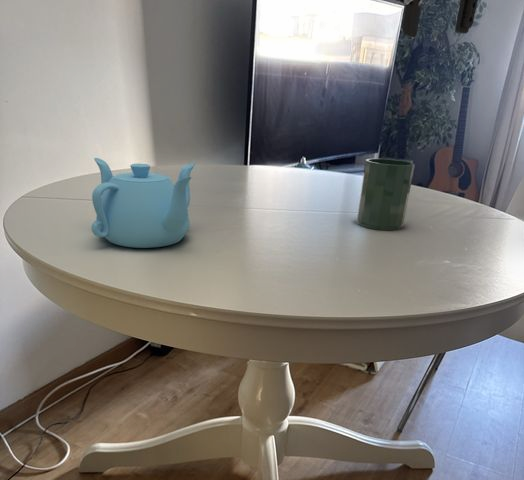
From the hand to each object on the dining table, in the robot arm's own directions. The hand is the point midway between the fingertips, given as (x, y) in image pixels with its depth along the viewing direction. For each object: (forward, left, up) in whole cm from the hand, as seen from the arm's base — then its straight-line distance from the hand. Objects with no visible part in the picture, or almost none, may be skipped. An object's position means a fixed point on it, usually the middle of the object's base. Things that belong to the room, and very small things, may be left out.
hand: (434, 35), depth 68 cm
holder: (-1, -5, -28) cm, 29 cm away
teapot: (+38, -16, -28) cm, 50 cm away
